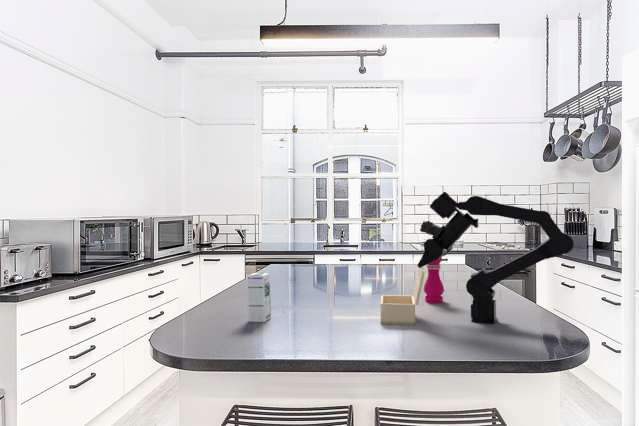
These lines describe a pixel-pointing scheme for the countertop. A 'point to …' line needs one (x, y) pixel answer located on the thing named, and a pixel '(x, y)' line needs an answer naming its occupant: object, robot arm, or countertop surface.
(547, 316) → the countertop surface
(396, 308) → the carton
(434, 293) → the pepper mill
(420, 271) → the lid
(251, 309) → the syrup box
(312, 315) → the countertop surface
